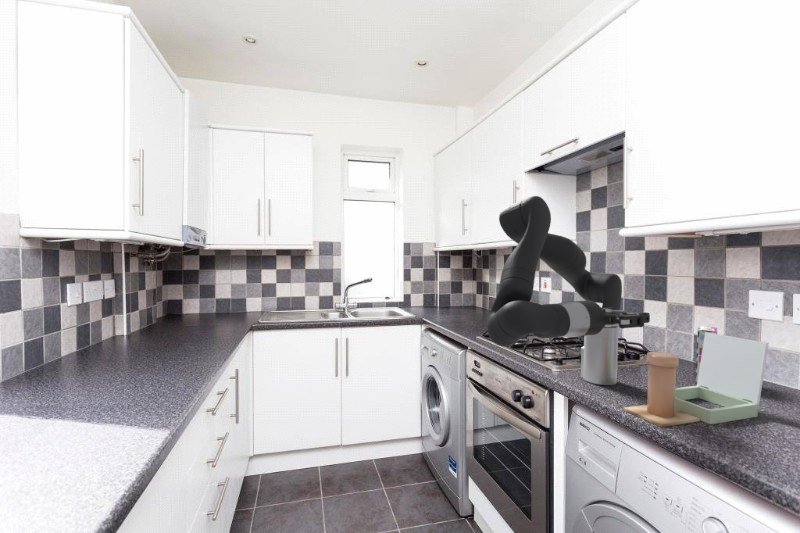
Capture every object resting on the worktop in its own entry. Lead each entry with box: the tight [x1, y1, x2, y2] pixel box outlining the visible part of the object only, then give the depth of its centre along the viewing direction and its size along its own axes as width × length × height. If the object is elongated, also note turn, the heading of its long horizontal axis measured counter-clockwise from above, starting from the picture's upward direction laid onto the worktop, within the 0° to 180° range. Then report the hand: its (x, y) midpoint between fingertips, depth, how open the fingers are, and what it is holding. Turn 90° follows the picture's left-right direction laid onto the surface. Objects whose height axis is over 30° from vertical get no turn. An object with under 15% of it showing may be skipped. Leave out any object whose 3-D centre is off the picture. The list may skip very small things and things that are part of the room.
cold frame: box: [674, 385, 759, 425], centre depth 97 cm, size 14×16×3 cm
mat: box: [623, 404, 701, 428], centre depth 93 cm, size 10×12×1 cm
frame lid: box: [696, 332, 769, 405], centre depth 100 cm, size 14×3×15 cm, turn 18°
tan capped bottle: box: [646, 351, 680, 418], centre depth 92 cm, size 6×6×14 cm
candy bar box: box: [694, 325, 718, 383], centre depth 121 cm, size 11×5×16 cm, turn 141°
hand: (630, 314), depth 88 cm, fingers open, 8 cm apart
